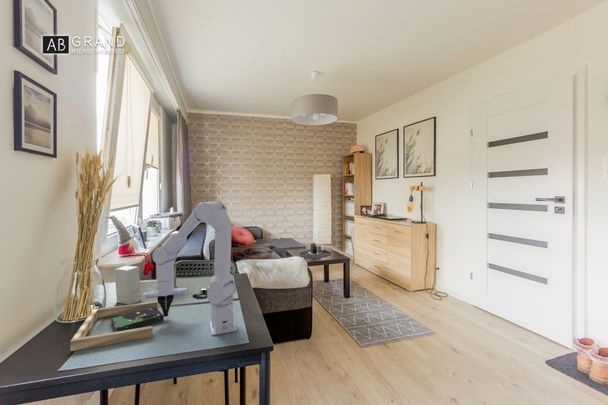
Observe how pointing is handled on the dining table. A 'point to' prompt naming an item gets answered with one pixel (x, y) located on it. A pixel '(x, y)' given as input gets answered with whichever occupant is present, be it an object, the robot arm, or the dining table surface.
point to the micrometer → (203, 291)
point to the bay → (115, 337)
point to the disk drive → (137, 319)
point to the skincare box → (127, 284)
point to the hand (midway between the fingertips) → (166, 315)
